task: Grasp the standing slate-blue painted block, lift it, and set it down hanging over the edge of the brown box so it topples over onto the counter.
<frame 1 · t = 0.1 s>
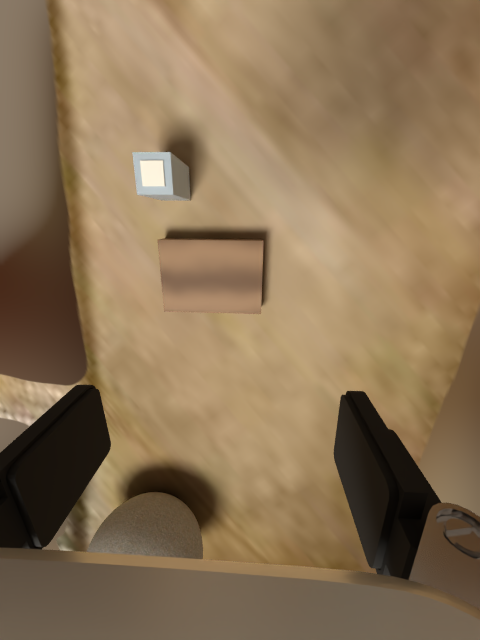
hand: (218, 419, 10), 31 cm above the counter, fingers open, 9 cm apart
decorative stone: (164, 502, 57), on the counter
brown box: (214, 274, 40), on the counter
block: (175, 184, 36), on the counter
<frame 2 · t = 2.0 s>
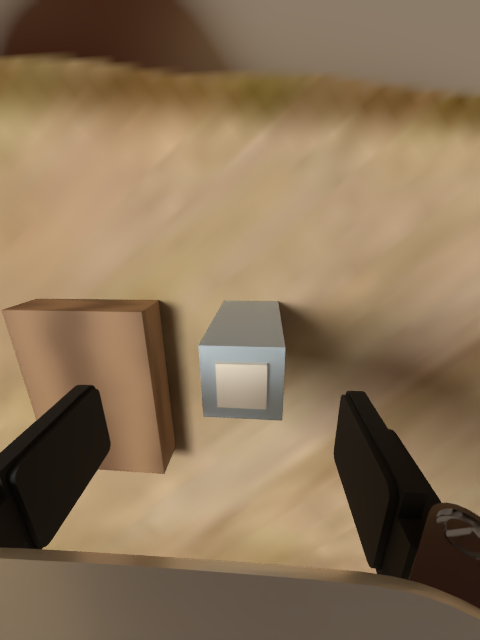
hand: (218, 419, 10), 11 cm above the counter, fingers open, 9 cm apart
brown box: (111, 378, 23), on the counter
block: (250, 326, 21), on the counter
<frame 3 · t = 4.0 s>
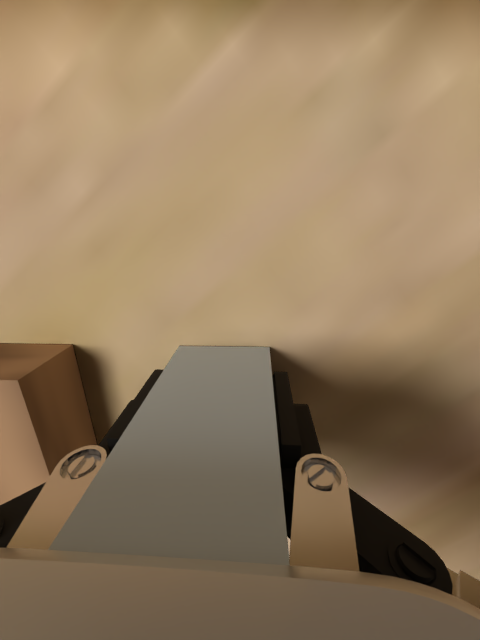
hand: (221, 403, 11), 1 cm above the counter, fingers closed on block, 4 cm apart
brown box: (14, 457, 15), on the counter
block: (225, 385, 13), on the counter, touching gripper
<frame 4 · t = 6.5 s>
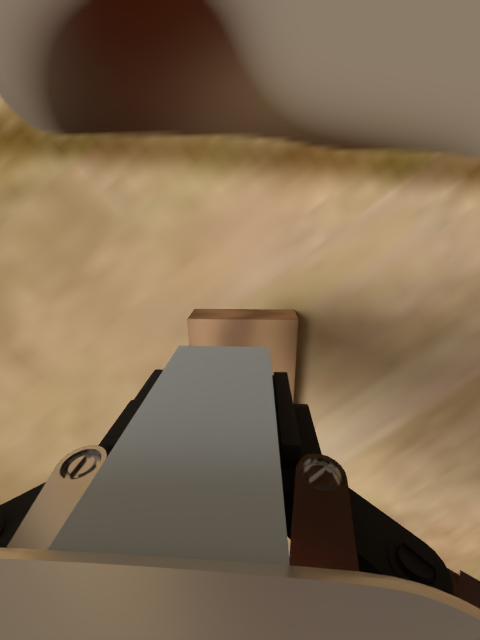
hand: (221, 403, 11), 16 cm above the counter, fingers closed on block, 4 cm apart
brown box: (244, 370, 29), on the counter
block: (225, 385, 13), point 15 cm above the counter, touching gripper
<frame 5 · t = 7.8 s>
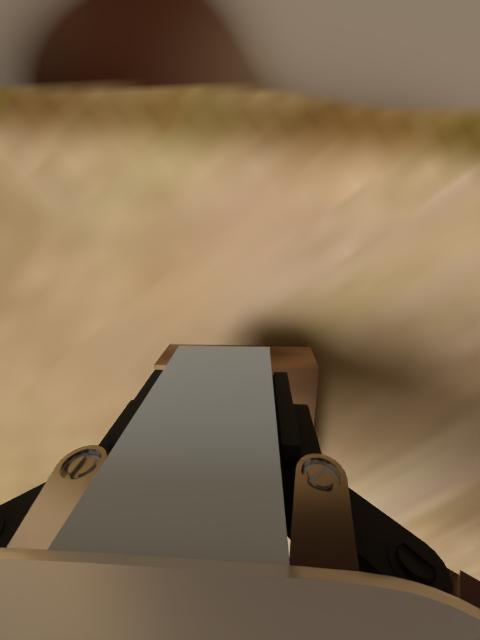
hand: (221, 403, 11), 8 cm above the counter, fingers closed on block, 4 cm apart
brown box: (240, 425, 21), on the counter
block: (225, 385, 13), point 7 cm above the counter, touching gripper
when the fingers open (6 cm above the counter, at t = 8.9 s): block drops 3 cm and tips over, point 2 cm above the counter.
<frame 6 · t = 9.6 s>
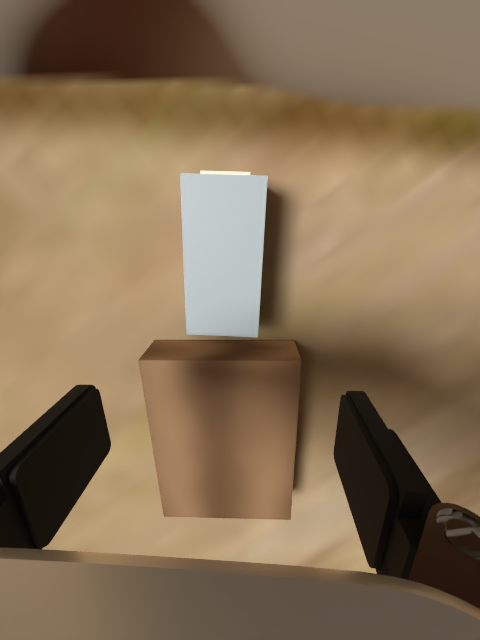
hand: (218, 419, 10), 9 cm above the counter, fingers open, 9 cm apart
brown box: (226, 419, 22), on the counter
block: (225, 323, 17), point 2 cm above the counter, tilted 90°
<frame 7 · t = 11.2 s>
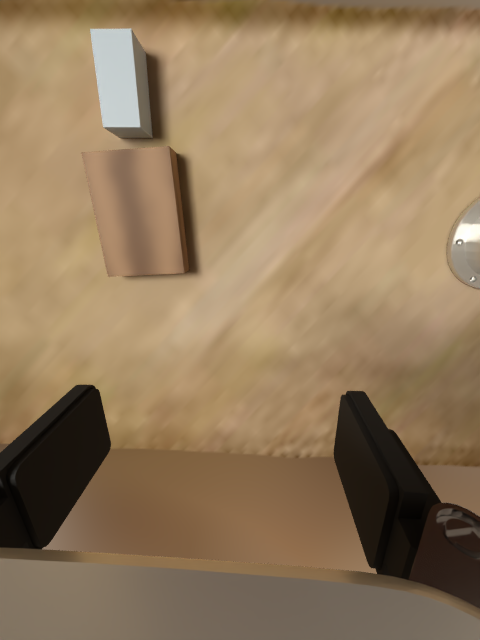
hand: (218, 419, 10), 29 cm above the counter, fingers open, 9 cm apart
brown box: (145, 217, 35), on the counter
block: (129, 133, 31), point 2 cm above the counter, tilted 90°
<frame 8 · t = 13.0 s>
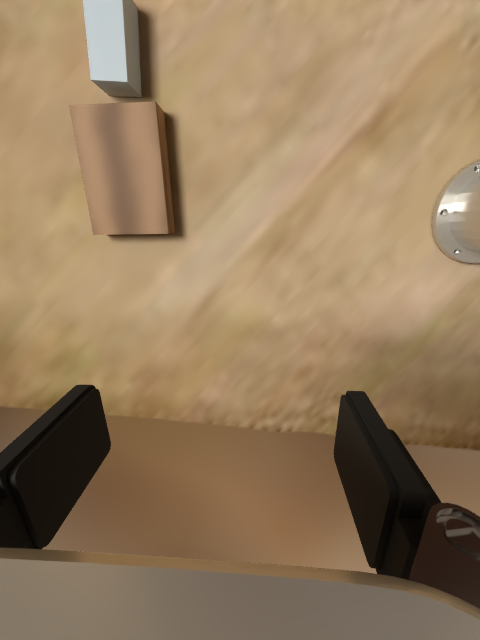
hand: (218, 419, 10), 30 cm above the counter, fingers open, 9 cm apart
brown box: (132, 177, 35), on the counter
block: (118, 89, 31), point 2 cm above the counter, tilted 90°
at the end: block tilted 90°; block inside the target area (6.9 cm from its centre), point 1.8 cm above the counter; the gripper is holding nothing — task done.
